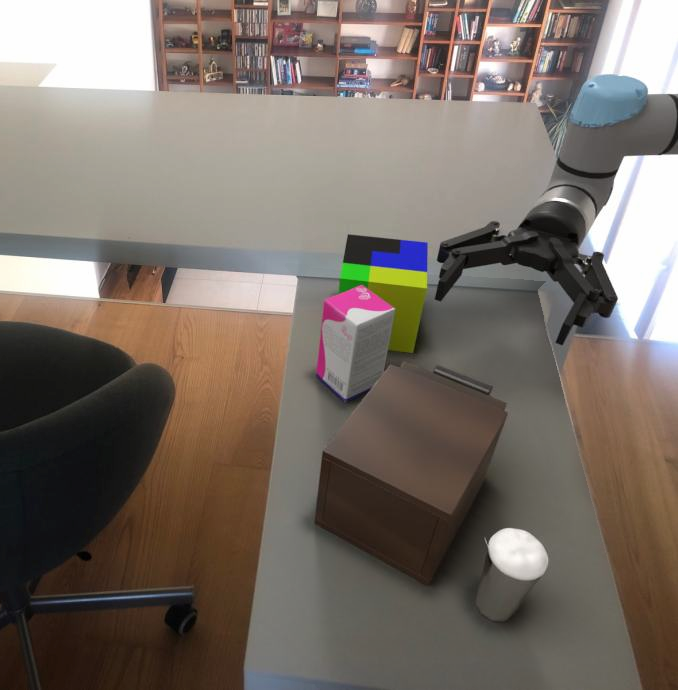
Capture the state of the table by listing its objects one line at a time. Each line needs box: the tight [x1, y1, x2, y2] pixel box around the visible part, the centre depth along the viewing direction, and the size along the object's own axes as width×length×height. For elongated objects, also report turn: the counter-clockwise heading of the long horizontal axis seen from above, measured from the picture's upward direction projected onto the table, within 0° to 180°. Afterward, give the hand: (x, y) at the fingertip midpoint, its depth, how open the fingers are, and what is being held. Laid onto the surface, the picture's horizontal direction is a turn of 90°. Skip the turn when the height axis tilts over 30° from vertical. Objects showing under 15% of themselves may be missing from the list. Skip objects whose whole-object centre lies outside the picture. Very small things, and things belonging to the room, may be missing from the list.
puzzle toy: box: [337, 233, 429, 354], centre depth 88 cm, size 10×10×10 cm
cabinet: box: [313, 363, 509, 586], centre depth 66 cm, size 14×12×11 cm
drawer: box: [398, 361, 508, 411], centre depth 69 cm, size 17×11×9 cm, turn 144°
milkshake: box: [475, 527, 549, 622], centre depth 58 cm, size 5×5×10 cm
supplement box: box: [315, 285, 395, 403], centre depth 79 cm, size 6×6×12 cm
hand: (498, 312), depth 76 cm, fingers open, 13 cm apart
